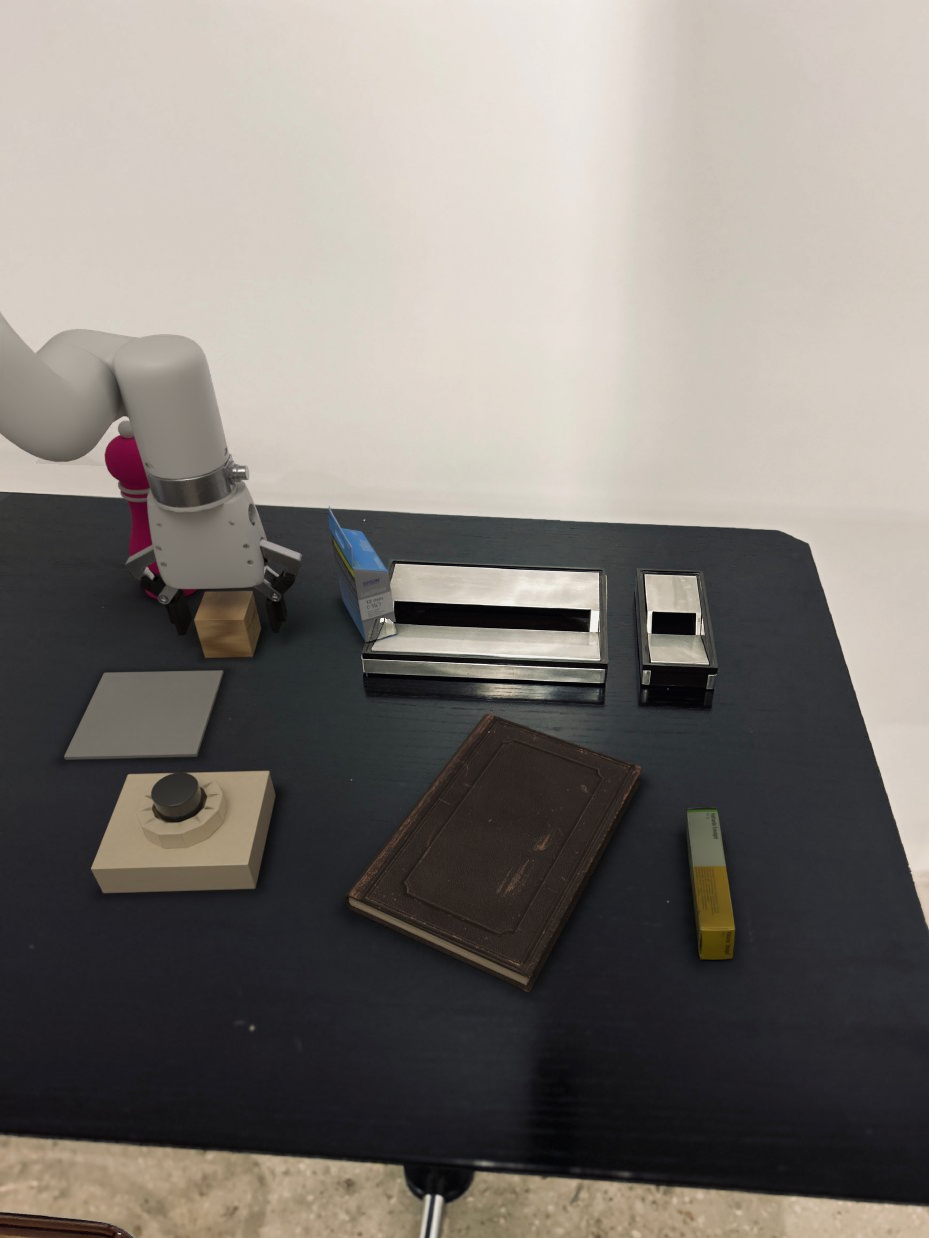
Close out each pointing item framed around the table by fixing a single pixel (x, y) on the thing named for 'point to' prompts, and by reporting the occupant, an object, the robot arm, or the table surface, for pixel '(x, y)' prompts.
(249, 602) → the block
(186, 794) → the button
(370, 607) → the label tape box
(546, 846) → the hardcover book
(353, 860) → the table surface
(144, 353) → the robot arm
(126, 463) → the pepper mill
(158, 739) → the pad
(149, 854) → the dial knob box
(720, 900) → the medication box
